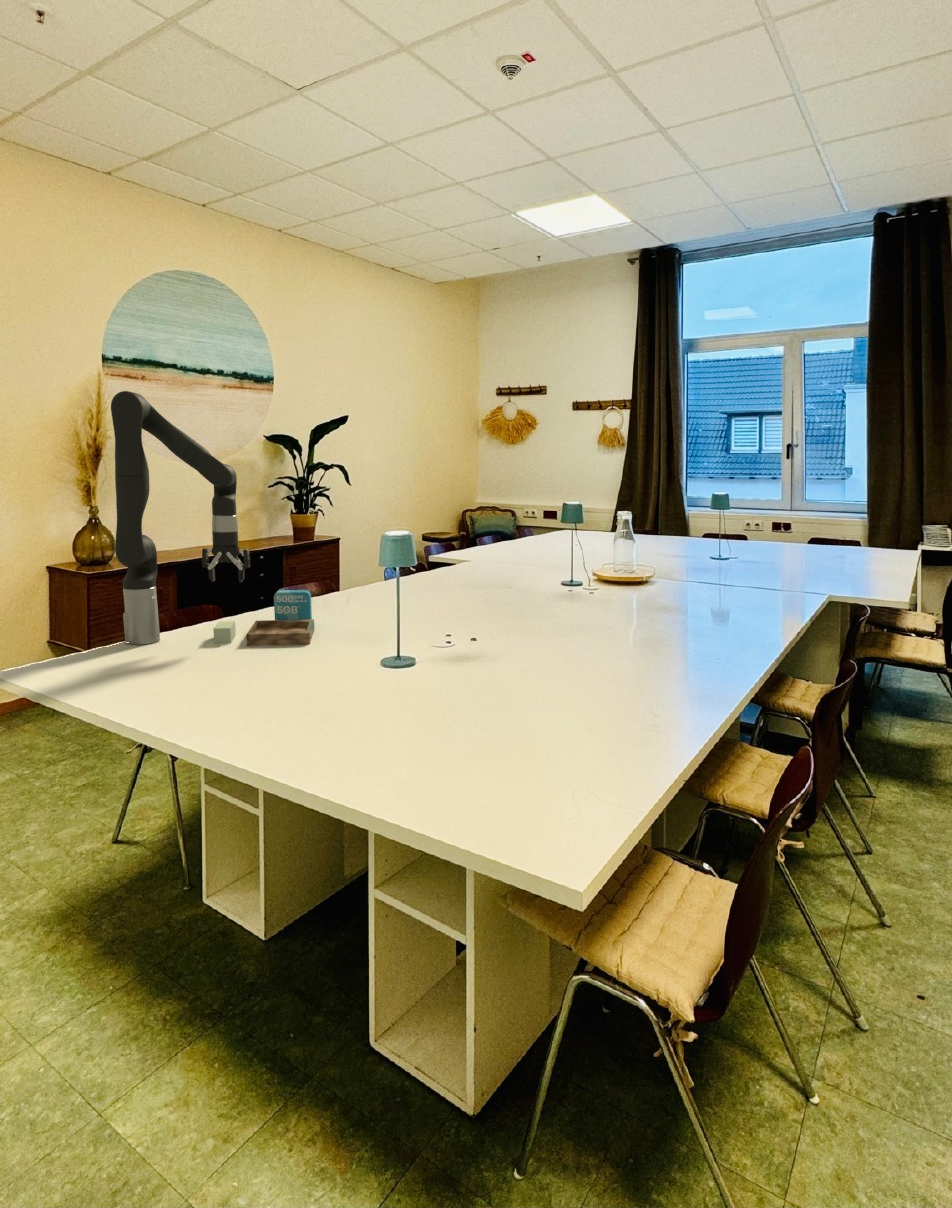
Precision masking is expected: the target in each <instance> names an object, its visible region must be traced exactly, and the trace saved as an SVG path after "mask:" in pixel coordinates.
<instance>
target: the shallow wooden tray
mask: <svg viewBox="0 0 952 1208" xmlns="http://www.w3.org/2000/svg"><path fill="white" fill-rule="evenodd" d="M314 632H315V619H314V618H312V619H308V620H275V619H273V620H271V619H270V620H262V619H261V620H255V621H254V623H253V624H252V626H251V627H250V628H249V630H248V631H247V633H246V646H251V647H253V646H256V647H257V646H283V645H284V646H287V645H288V646H289V645H291V646H292V645H293V646H294V645H310V644H311V642H312V638H313V636H314Z"/></svg>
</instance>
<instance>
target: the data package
mask: <svg viewBox="0 0 952 1208" xmlns="http://www.w3.org/2000/svg"><path fill="white" fill-rule="evenodd" d="M273 606H274V607H273V608H274V609H273V610H274V612H273V613H274V620H308V619H313V614H312V594H311V592H310V590H308V589H307V590H306V589H297V590H296V589H293V590H292V589H290V590H289V589H287V590H285V589H284V590H281V589H280V590H277V591H276V592H275V593H274V596H273Z"/></svg>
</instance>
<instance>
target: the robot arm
mask: <svg viewBox="0 0 952 1208" xmlns="http://www.w3.org/2000/svg"><path fill="white" fill-rule="evenodd" d="M110 413H111V418H112V427H113V432H114V466H115V467H114V468H115V469H114V480H115V482H114V483H115V484H114V486H115V496H116V497H115V498H116V499H115V504H116V531H115V542H114V553H115V557H116V559H117V561H118V562H119V563H120V564H121V565H122V566H124V567H127V570H126V571H127V572H126V574H125V576H124V577H123V578H122V589H123V590H122V592H123V602H124V604H123V605H124V612H123V614H122V618H123V627H124V628H123V629H124V640H125V644H126V645H127V644H130V645H149V644H153V643H157V642H159V641H160V640H161V635H160V634H161V633H160V620H159V609H158V600H157V599H158V597H157V585H156V584H157V583H156V582H157V577H158V555H157V548H156V544H155V542H154V541H153V539H152V537H149V536H147V535H146V534H143V530H142V529H143V527H142V526H143V525H142V524H143V516H144V513H145V509H146V507H147V503H148V501H149V497H150V496H149V495H150V470H149V465H148V460H147V457H146V454H145V451H144V447H143V441H142V440H143V439H142V436H143V434H142V432H143V431H142V430H144V431H146V432H148V433H149V434H151V435H152V436H154V438H156V439H157V440H158V441H160V442H161V443H162V444H163V445H164V446H165V447H166V448H167V449H168V450H169V451H170V452H171V453H172V454H173V455H174V456H176V457H177V458H178V459H180V460H181V461H183V462H184V463H185V464H187V466H189V467H191V468H192V469H194V470H195V471H197V472H198V473H199V474H200V475H201V476H202V477H203V478H204V479H205V480H206V481H208V482H209V483H211V484H212V486H213V496H212V500H211V514H212V516H211V517H212V518H211V535H212V537H211V539H212V548H208V547H204V548H202V550H201V567H202V568H204V569H205V568H206V569H207V570H208V580H210V582H215V581H216V569H215V567H216V566H217V564H218V563H222V564H223V563H227V564H228V563H229V564H231V563H233V564H234V566H236V567H237V569H238V575H237V576H238V583H243V581H244V580H245V577H246V576H245V570H246V569H249V568H250V567H251V556H250V549H249V548H242V549H240V547H239V526H238V519H237V503H236V498H237V497H236V495H237V485H238V482H237V481H238V479H237V477H238V476H237V472H236V470H235V469H234V467H233V466H231V465H230V464H225V463H223V462H221V461H220V460H219V459H218V458H216V457H215V456H214V455H212V453H211V452H210V451H209V450H208V449H207V448H206V447H204V446H203V445H201V444H200V443H199V442H197V441H196V440H195V439H193V438H192V437H190V436H189V435H187V434H186V433H185V432H184V431H182V430H181V429H179V428H178V427H176V426H175V425H174V424H173V423H171V422H170V421H169V420H167V418H165V417H164V416H163V415H162V414H161V413H160V412H159V411H158V410H157V409H156V408H155V407H154V406H153V405H152V404H151V403H150V402H149V401H148V400H147V399H146V398H145V397H144V396H143V395H141V394H139V393H136V392H133V391H128V390H124V391H123V390H122V391H119V392H117V393H116V394H114V396H113V397H112V400H111V403H110ZM211 554H212V555H213V556H214V558H213V559H212V560H211V562H210V563H209V556H210V555H211ZM240 554H241V556H242V557H243V562H242V561H241V559H240V558H239V557H238V556H239V555H240ZM126 642H129V643H126Z"/></svg>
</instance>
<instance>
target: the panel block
mask: <svg viewBox="0 0 952 1208" xmlns="http://www.w3.org/2000/svg"><path fill="white" fill-rule="evenodd" d="M236 636H237V634H236V621H235V620H227V621H224V620H223V621H222V620H221V621H219V620H218V622H217V623H216V625H215V626H214V627H213V643H214V644H215V645H216V644H232V642H233V641H234V639H235V637H236ZM214 644H213V645H214Z"/></svg>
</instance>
